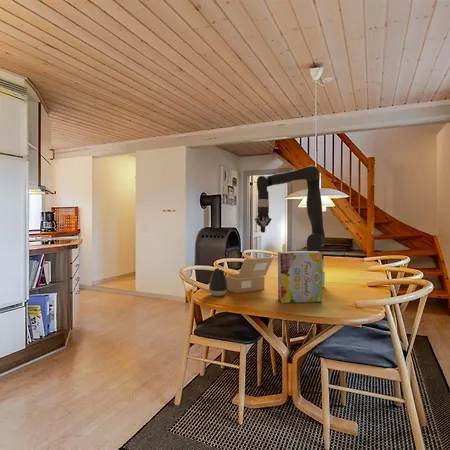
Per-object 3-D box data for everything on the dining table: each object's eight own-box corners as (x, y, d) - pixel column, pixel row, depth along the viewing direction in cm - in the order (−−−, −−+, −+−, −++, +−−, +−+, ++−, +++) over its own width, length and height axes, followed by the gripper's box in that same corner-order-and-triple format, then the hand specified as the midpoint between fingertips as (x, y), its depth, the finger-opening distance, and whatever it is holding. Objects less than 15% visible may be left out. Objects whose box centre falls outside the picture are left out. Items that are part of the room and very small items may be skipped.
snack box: (317, 298, 177) (318, 250, 177) (322, 303, 169) (323, 252, 168) (277, 298, 177) (277, 250, 176) (280, 303, 168) (280, 252, 167)
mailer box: (264, 289, 198) (264, 276, 198) (236, 293, 188) (236, 279, 188) (250, 285, 211) (251, 272, 210) (223, 288, 200) (223, 275, 200)
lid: (265, 274, 197) (265, 275, 197) (237, 277, 187) (237, 278, 187) (272, 256, 191) (273, 257, 190) (244, 259, 181) (245, 259, 180)
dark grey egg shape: (216, 298, 176) (216, 270, 176) (205, 294, 185) (205, 267, 184) (231, 296, 182) (231, 268, 182) (220, 292, 191) (220, 266, 190)
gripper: (258, 206, 213) (258, 233, 214) (274, 206, 220) (274, 232, 221) (251, 206, 220) (251, 232, 220) (267, 206, 226) (267, 231, 227)
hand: (263, 232), depth 220 cm, fingers closed
